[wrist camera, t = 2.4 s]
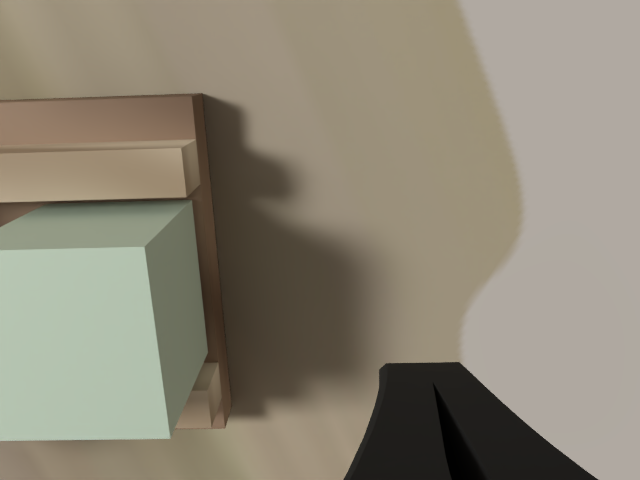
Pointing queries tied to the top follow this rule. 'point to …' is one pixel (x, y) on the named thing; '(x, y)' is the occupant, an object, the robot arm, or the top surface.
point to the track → (124, 189)
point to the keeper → (99, 320)
